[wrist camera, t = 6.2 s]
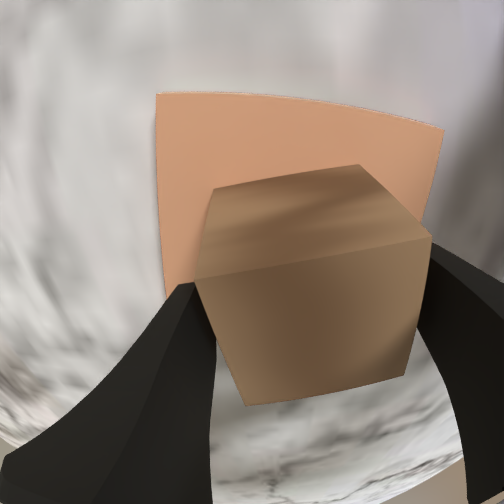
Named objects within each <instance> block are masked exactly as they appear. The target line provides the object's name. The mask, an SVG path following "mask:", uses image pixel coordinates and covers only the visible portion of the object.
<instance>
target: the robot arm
mask: <svg viewBox="0 0 504 504" xmlns="http://www.w3.org/2000/svg"><path fill="white" fill-rule="evenodd" d="M417 329H418V331H419V332H420V334H421V336H422V338H423V340H424V342H425V344H426V346H427V348H428V350H429V352H430V354H431V356H432V358H433V360H434V362H435V364H436V366H437V368H438V370H439V372H440V374H441V376H442V378H443V380H444V383H445V385H446V388H447V391H448V394H449V397H450V400H451V403H452V406H453V410H454V413H455V417H456V421H457V425H458V429H459V433H460V438H461V443H462V449H463V455H464V461H465V470H466V483H467V499H468V503H469V504H481V503H482V502H484V501H486V500H488V499H490V498H491V497H493V496H495V495H497V494H499V493H500V492H502V491H504V283H502V282H500V281H498V280H497V279H495V278H493V277H491V276H490V275H488V274H486V273H484V272H483V271H481V270H479V269H478V268H476V267H474V266H473V265H471V264H469V263H468V262H466V261H464V260H463V259H461V258H459V257H457V256H456V255H454V254H452V253H451V252H449V251H447V250H445V249H444V248H442V247H440V246H438V245H436V244H434V243H432V244H431V252H430V259H429V266H428V272H427V278H426V284H425V290H424V295H423V300H422V305H421V310H420V314H419V319H418V323H417ZM215 370H216V336H215V334H214V331H213V329H212V326H211V324H210V321H209V319H208V316H207V314H206V311H205V308H204V306H203V303H202V301H201V298H200V295H199V293H198V290H197V287H196V285H195V282H190V283H183V284H178V285H177V287H176V288H175V289H174V290H173V292H172V293H171V294H170V296H169V297H168V299H167V300H166V301H165V303H164V304H163V306H162V307H161V308H160V310H159V311H158V313H157V314H156V315H155V317H154V318H153V319H152V321H151V322H150V323H149V325H148V326H147V327H146V329H145V330H144V332H143V333H142V334H141V335H140V337H139V338H138V339H137V340H136V342H135V343H134V344H133V345H132V347H131V348H130V349H129V350H128V352H127V353H126V354H125V355H124V357H123V358H122V359H121V360H120V362H119V363H118V364H117V365H116V366H115V367H114V368H113V369H112V371H111V372H110V373H109V374H108V375H107V376H106V377H105V378H104V379H103V380H102V381H101V382H100V383H99V384H98V385H97V386H96V387H95V388H94V389H93V390H92V391H91V392H90V393H89V394H88V395H87V396H86V397H85V398H84V399H83V400H82V401H80V402H79V403H78V404H77V405H76V406H75V407H74V408H73V409H72V410H71V411H69V412H68V413H67V414H66V415H65V416H63V417H62V418H61V419H60V420H58V421H57V422H56V423H55V424H53V425H52V426H51V427H49V428H48V429H47V430H45V431H44V432H42V433H41V434H40V435H38V436H37V437H35V438H34V439H32V440H31V441H29V442H27V443H26V444H24V445H23V446H21V447H19V448H18V449H16V450H15V451H13V452H11V453H9V454H7V455H6V456H5V457H4V460H3V464H2V467H1V471H0V502H1V503H3V504H213V501H212V490H211V474H210V447H209V431H210V417H211V407H212V398H213V389H214V379H215ZM497 504H504V500H502V501H501V502H499V503H497Z"/></svg>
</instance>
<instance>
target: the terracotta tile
mask: <svg viewBox="0 0 504 504" xmlns="http://www.w3.org/2000/svg"><path fill="white" fill-rule="evenodd" d="M443 135H444V130H443V129H440V128H438V127H435V126H433V125H430V124H427V123H423V122H419V121H416V120H412V119H408V118H404V117H400V116H396V115H392V114H387V113H383V112H378V111H374V110H369V109H364V108H359V107H354V106H348V105H342V104H337V103H330V102H324V101H317V100H310V99H302V98H294V97H285V96H275V95H263V94H250V93H232V92H162V93H158V94H156V164H157V189H158V208H159V223H160V237H161V249H162V260H163V270H164V280H165V289H166V297H167V299H168V297H169V296H170V294H171V293H172V292H173V290H174V289H175V288H176V287H177V285H178V284H183V283H190V282H194V275H195V270H196V266H197V261H198V256H199V251H200V247H201V242H202V237H203V233H204V228H205V224H206V219H207V215H208V211H209V206H210V202H211V198H212V194H213V189H215V188H220V187H225V186H230V185H235V184H240V183H245V182H250V181H256V180H261V179H266V178H272V177H278V176H283V175H289V174H295V173H301V172H307V171H314V170H320V169H327V168H334V167H341V166H348V165H355V164H359V165H361V166H362V167H363V168H364V169H365V170H366V171H367V172H368V173H369V174H371V175H372V176H373V177H374V178H375V179H376V180H377V181H378V182H379V183H380V184H381V185H382V186H383V187H384V188H386V189H387V190H388V191H389V192H390V193H391V194H392V195H393V196H394V197H395V198H396V199H397V200H398V201H399V202H400V203H401V204H402V205H403V206H404V207H405V208H406V209H407V210H408V211H409V212H410V213H411V214H412V215H413V216H414V217H415V218H416V219H417V220H418V221H419V222H420V223H421V220H422V216H423V213H424V210H425V207H426V203H427V200H428V196H429V193H430V189H431V185H432V182H433V178H434V174H435V170H436V166H437V162H438V158H439V153H440V149H441V144H442V140H443Z"/></svg>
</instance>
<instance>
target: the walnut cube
mask: <svg viewBox="0 0 504 504" xmlns="http://www.w3.org/2000/svg"><path fill="white" fill-rule="evenodd" d="M431 244H432V235H431V234H430V233H429V232H428V231H427V230H426V229H425V228H424V227H423V226H422V225H421V223H420V222H419V221H418V220H417V219H416V218H415V217H414V216H413V215H412V214H411V213H410V212H409V211H408V210H407V209H406V208H405V207H404V206H403V205H402V204H401V203H400V202H399V201H398V200H397V199H396V198H395V197H394V196H393V195H392V194H391V193H390V192H389V191H388V190H387V189H386V188H384V187H383V186H382V185H381V184H380V183H379V182H378V181H377V180H376V179H375V178H374V177H373V176H372V175H371V174H369V173H368V172H367V171H366V170H365V169H364V168H363V167H362V166H361V165H359V164H355V165H348V166H341V167H334V168H327V169H320V170H314V171H307V172H301V173H295V174H289V175H283V176H278V177H272V178H266V179H261V180H256V181H250V182H245V183H240V184H235V185H230V186H225V187H220V188H215V189H213V194H212V198H211V202H210V206H209V211H208V215H207V219H206V224H205V228H204V233H203V237H202V242H201V247H200V251H199V256H198V261H197V266H196V270H195V275H194V282H195V285H196V287H197V290H198V293H199V295H200V298H201V301H202V303H203V306H204V308H205V311H206V314H207V316H208V319H209V321H210V324H211V326H212V329H213V331H214V334H215V336H216V339H217V341H218V344H219V346H220V348H221V351H222V353H223V356H224V358H225V360H226V363H227V365H228V368H229V370H230V372H231V375H232V377H233V379H234V381H235V384H236V386H237V388H238V391H239V393H240V395H241V397H242V400H243V402H244V404H245V406H251V405H260V404H268V403H275V402H282V401H289V400H295V399H302V398H307V397H313V396H318V395H324V394H329V393H334V392H339V391H343V390H348V389H352V388H357V387H361V386H365V385H369V384H373V383H377V382H381V381H385V380H388V379H392V378H396V377H399V376H403V375H404V373H405V370H406V366H407V363H408V359H409V355H410V352H411V348H412V344H413V340H414V336H415V332H416V328H417V323H418V319H419V314H420V310H421V305H422V300H423V295H424V290H425V284H426V278H427V272H428V266H429V259H430V252H431Z"/></svg>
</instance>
